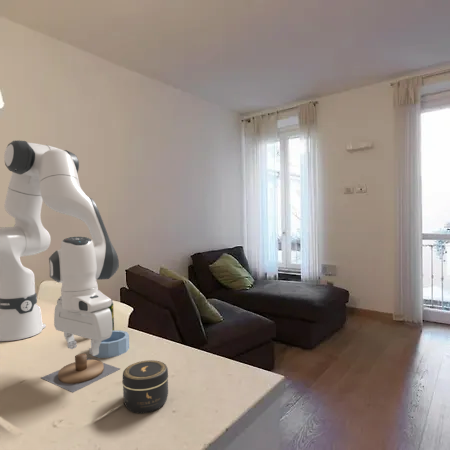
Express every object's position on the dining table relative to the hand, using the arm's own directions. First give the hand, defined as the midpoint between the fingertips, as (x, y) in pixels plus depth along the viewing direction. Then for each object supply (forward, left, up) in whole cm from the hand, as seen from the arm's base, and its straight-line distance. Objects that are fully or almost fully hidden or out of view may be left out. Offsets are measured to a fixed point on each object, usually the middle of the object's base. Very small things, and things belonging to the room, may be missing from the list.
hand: (82, 351), depth 89 cm
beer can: (-22, +24, -7) cm, 33 cm away
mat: (-1, 0, -7) cm, 7 cm away
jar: (+23, 0, -7) cm, 25 cm away
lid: (-1, 0, -6) cm, 6 cm away
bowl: (-7, +14, -7) cm, 17 cm away
